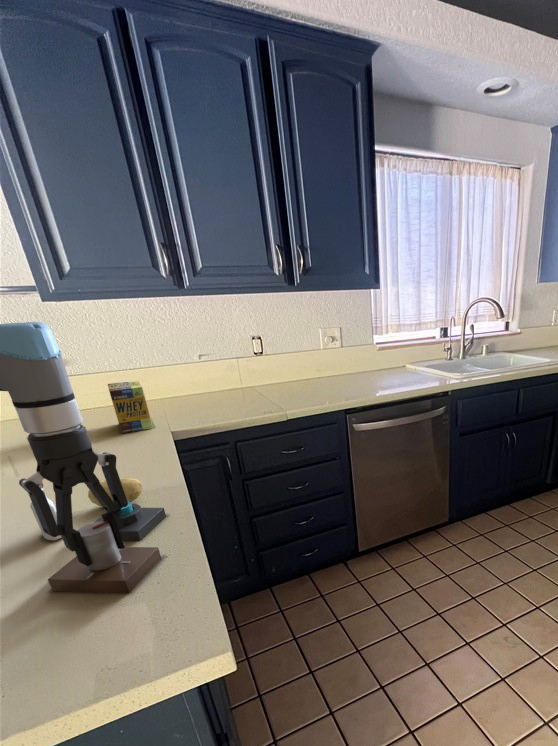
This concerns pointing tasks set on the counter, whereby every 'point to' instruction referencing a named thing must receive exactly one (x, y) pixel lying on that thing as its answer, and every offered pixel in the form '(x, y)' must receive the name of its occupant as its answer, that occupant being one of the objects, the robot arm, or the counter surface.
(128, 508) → the teal round puck
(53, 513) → the eye dropper bottle
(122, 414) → the protein box
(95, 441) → the counter surface
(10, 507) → the counter surface
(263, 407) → the counter surface
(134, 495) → the potato
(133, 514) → the push button box
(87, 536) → the dial
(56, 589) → the dial panel
